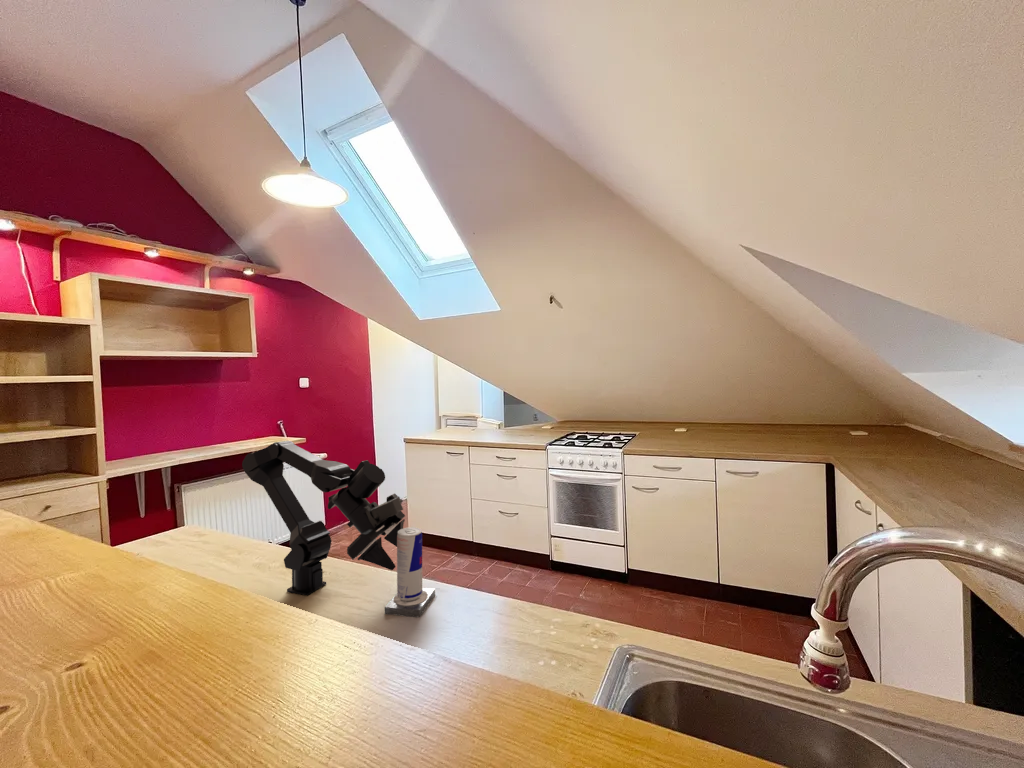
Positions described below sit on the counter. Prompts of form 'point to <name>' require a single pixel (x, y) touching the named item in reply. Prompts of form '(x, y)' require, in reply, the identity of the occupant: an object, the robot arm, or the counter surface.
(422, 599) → the plate
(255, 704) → the counter surface
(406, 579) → the beverage can
